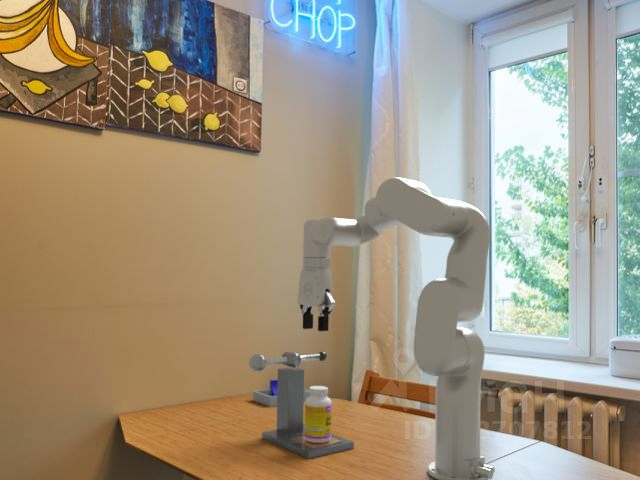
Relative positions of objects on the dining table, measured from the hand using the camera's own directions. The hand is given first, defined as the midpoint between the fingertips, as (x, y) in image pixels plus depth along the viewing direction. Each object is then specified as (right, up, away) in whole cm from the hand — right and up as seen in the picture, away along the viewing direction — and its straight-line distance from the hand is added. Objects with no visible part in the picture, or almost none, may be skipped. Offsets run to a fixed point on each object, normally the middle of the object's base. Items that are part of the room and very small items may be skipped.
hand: (315, 329), depth 156 cm
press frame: (-2, -27, -12) cm, 30 cm away
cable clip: (-11, -30, +35) cm, 47 cm away
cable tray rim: (-11, -29, +35) cm, 47 cm away
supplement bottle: (+1, -25, -15) cm, 30 cm away
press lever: (-7, -9, -6) cm, 13 cm away
